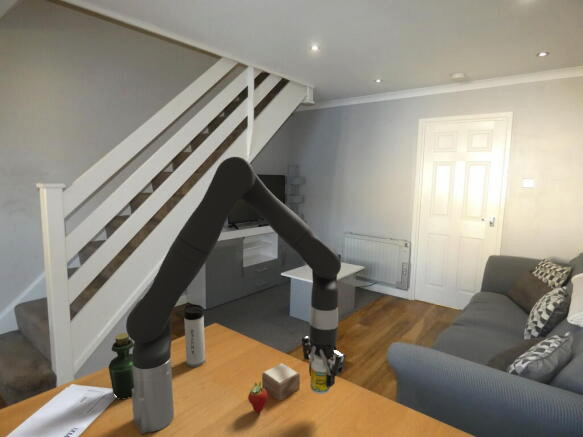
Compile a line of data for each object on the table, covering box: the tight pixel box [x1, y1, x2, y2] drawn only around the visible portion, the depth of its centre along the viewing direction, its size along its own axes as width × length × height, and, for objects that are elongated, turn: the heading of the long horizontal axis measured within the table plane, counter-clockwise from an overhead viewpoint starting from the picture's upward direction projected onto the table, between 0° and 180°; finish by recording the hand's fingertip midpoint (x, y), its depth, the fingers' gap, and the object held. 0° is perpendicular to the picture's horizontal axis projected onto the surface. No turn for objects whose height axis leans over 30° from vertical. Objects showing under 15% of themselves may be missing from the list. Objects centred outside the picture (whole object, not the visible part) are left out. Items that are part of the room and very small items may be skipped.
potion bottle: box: [108, 332, 134, 400], centre depth 101 cm, size 8×8×18 cm
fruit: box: [247, 381, 269, 413], centre depth 94 cm, size 5×5×8 cm
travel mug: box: [183, 303, 206, 368], centre depth 117 cm, size 6×7×20 cm
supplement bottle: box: [310, 354, 332, 395], centre depth 93 cm, size 5×5×10 cm
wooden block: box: [261, 362, 301, 402], centre depth 104 cm, size 8×8×5 cm
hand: (321, 380), depth 93 cm, fingers closed on supplement bottle, 5 cm apart
